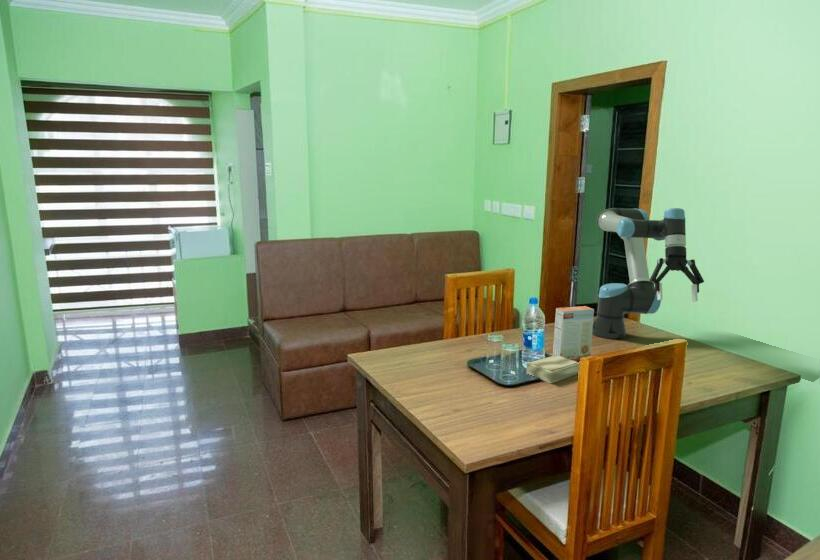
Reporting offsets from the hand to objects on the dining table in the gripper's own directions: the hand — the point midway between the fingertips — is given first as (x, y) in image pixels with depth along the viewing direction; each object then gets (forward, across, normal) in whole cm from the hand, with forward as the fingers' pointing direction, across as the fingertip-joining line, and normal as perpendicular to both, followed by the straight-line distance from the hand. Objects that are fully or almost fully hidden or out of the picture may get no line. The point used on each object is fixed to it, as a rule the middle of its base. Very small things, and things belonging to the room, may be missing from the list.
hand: (677, 300), depth 213 cm
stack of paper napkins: (+30, -51, -9) cm, 60 cm away
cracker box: (+24, -40, +7) cm, 47 cm away
